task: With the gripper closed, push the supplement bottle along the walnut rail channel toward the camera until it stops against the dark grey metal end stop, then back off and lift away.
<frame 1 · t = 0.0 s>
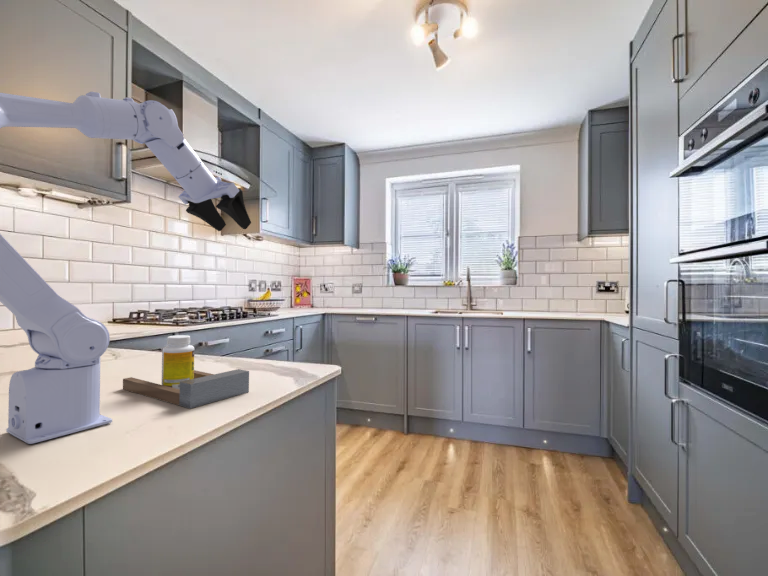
hand: (234, 226, 78), 32 cm above the counter, tool tilted 50°, fingers open, 7 cm apart
supplement bottle: (177, 389, 75), on the counter
end stop: (216, 398, 69), on the counter
guide rails: (181, 389, 74), on the counter
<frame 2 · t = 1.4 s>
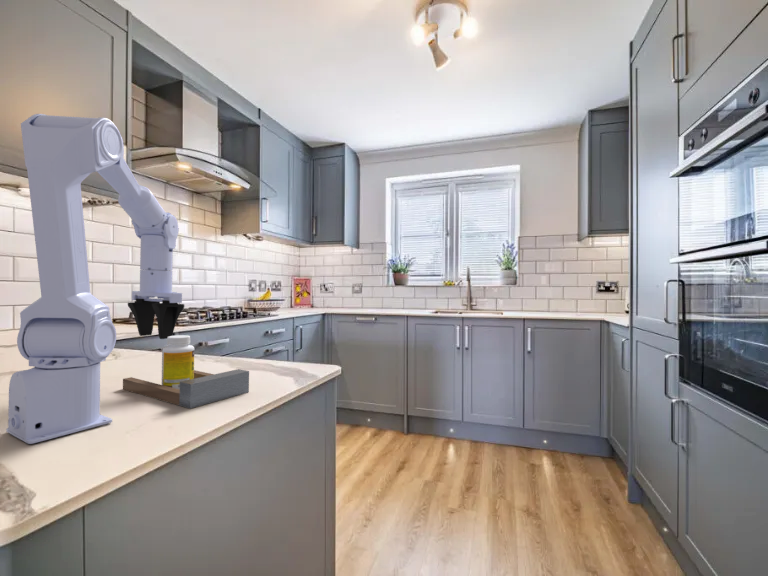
hand: (155, 336, 79), 9 cm above the counter, tool pointing down, fingers open, 7 cm apart
nothing on the counter moved.
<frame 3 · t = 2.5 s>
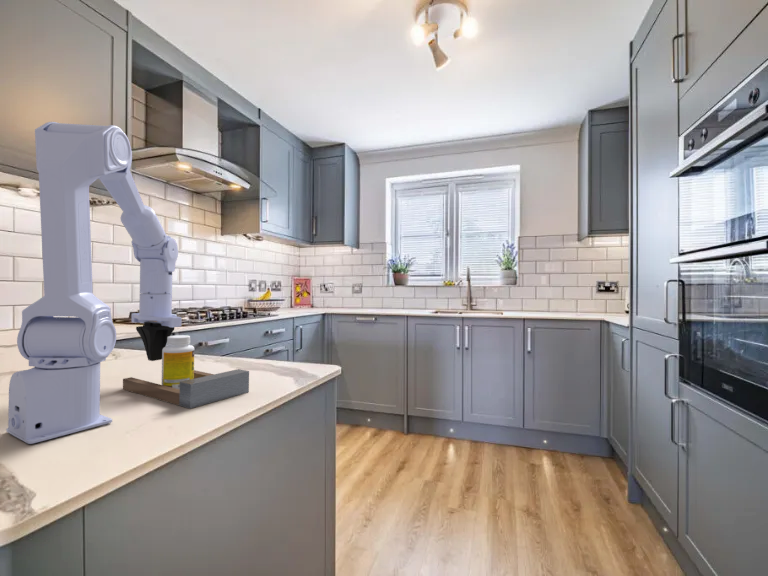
hand: (155, 359, 79), 5 cm above the counter, tool pointing down, fingers closed
nothing on the counter moved.
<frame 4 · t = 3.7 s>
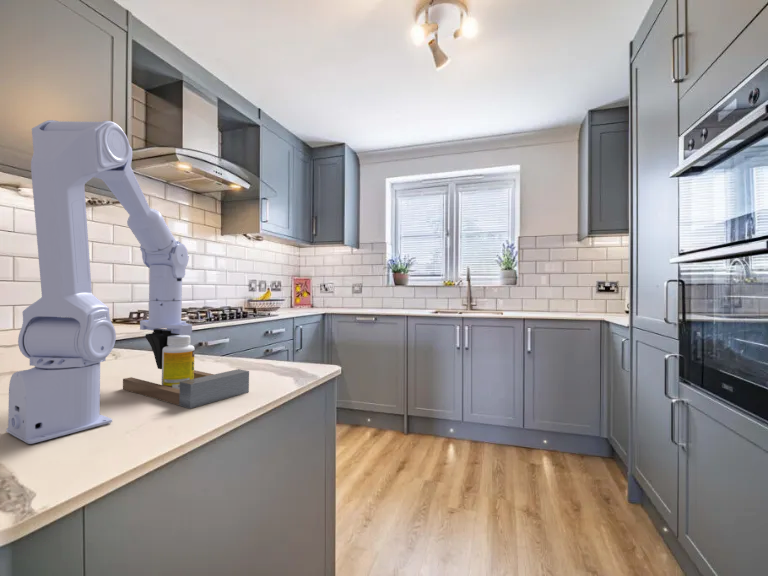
hand: (164, 368, 77), 3 cm above the counter, tool pointing down, fingers closed
supplement bottle: (177, 389, 75), on the counter, touching gripper
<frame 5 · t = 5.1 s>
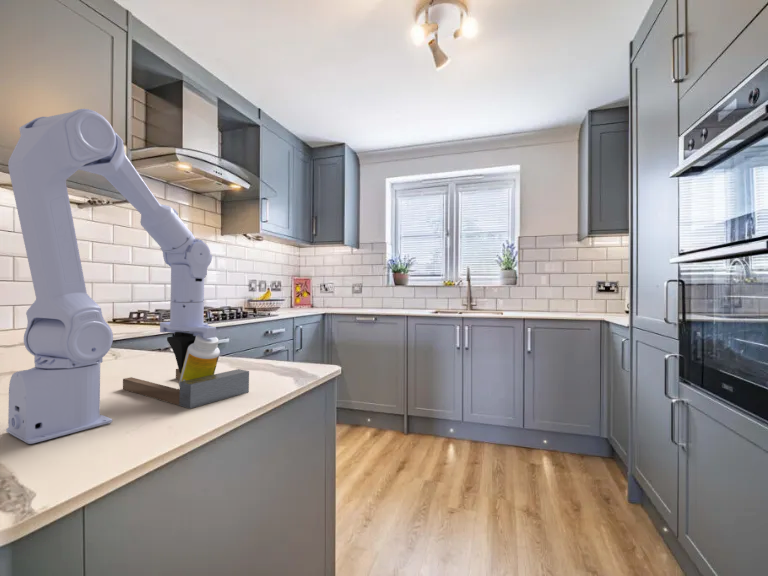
hand: (186, 372, 74), 3 cm above the counter, tool pointing down, fingers closed
supplement bottle: (193, 388, 73), point 1 cm above the counter, touching gripper
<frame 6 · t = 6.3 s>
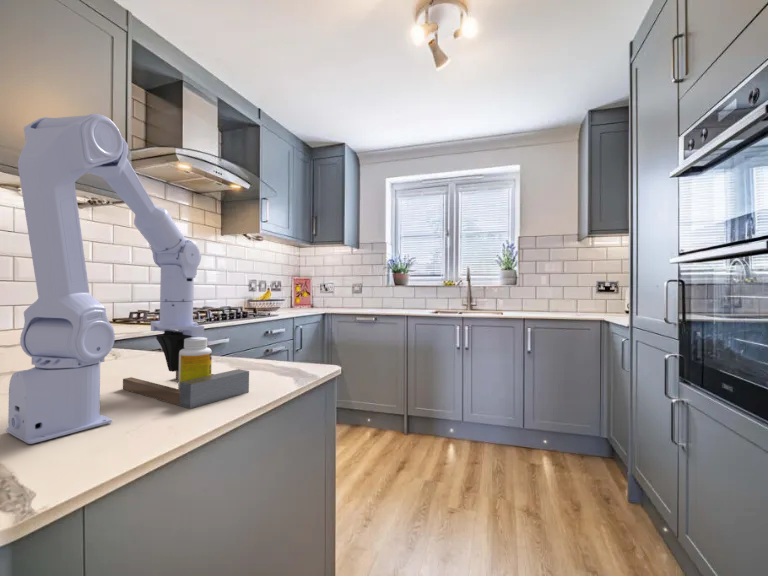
hand: (175, 370, 75), 3 cm above the counter, tool pointing down, fingers closed
supplement bottle: (194, 393, 72), on the counter
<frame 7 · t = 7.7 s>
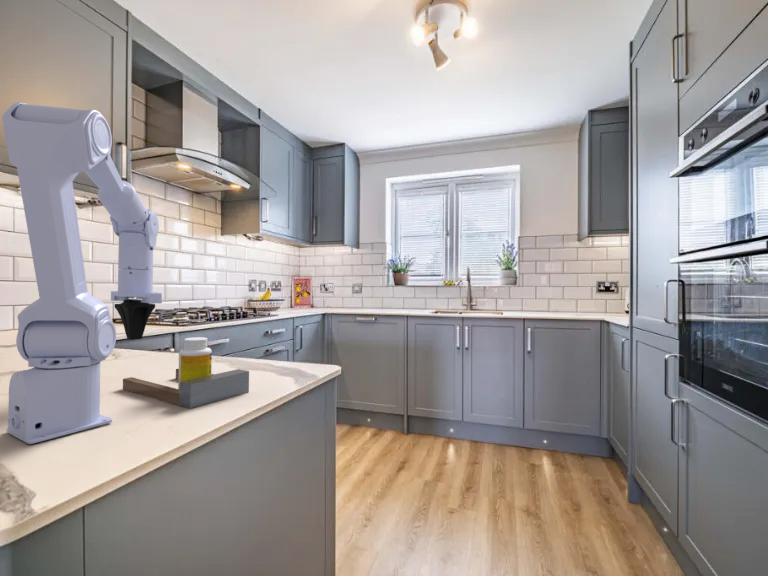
hand: (134, 339, 75), 9 cm above the counter, tool pointing down, fingers closed
nothing on the counter moved.
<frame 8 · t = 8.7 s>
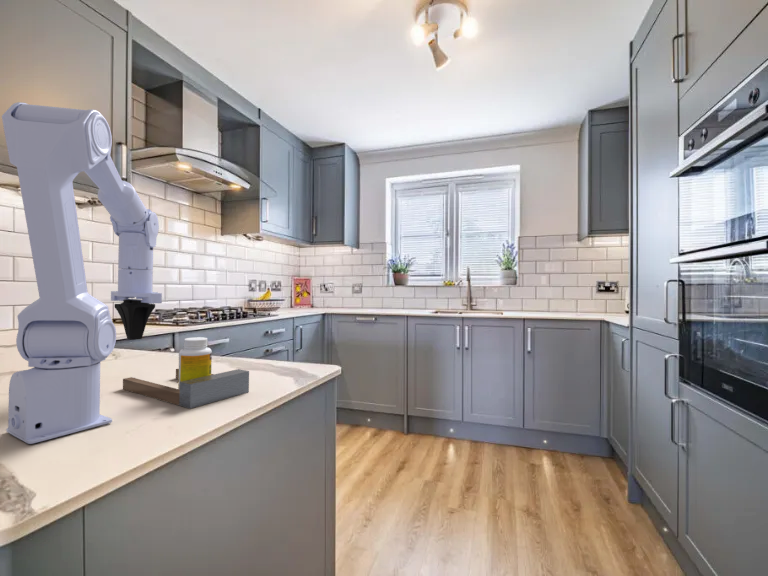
hand: (134, 339, 75), 9 cm above the counter, tool pointing down, fingers closed
nothing on the counter moved.
at the end: supplement bottle 1.3 cm from the target spot, on the counter; supplement bottle tilted 0°; supplement bottle moved 5.2 cm from its start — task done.
